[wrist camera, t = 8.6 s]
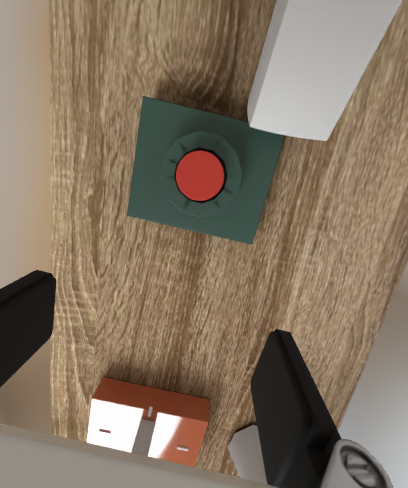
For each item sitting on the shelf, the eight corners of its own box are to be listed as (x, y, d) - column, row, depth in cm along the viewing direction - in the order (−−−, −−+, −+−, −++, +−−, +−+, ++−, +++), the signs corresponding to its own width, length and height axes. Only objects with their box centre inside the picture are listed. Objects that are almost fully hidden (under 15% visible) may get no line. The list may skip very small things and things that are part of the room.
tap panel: (95, 434, 33) (83, 460, 30) (103, 373, 30) (91, 395, 27) (192, 453, 33) (190, 481, 30) (210, 395, 30) (209, 420, 27)
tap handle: (140, 418, 28) (126, 466, 23) (155, 421, 28) (144, 469, 23) (132, 458, 30) (118, 509, 25) (146, 460, 30) (134, 512, 25)
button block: (134, 212, 24) (119, 219, 20) (149, 103, 21) (135, 87, 17) (248, 238, 24) (255, 250, 20) (279, 135, 21) (293, 127, 17)
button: (175, 193, 19) (171, 194, 18) (183, 147, 18) (181, 145, 17) (217, 202, 20) (217, 205, 18) (227, 158, 19) (229, 156, 17)
